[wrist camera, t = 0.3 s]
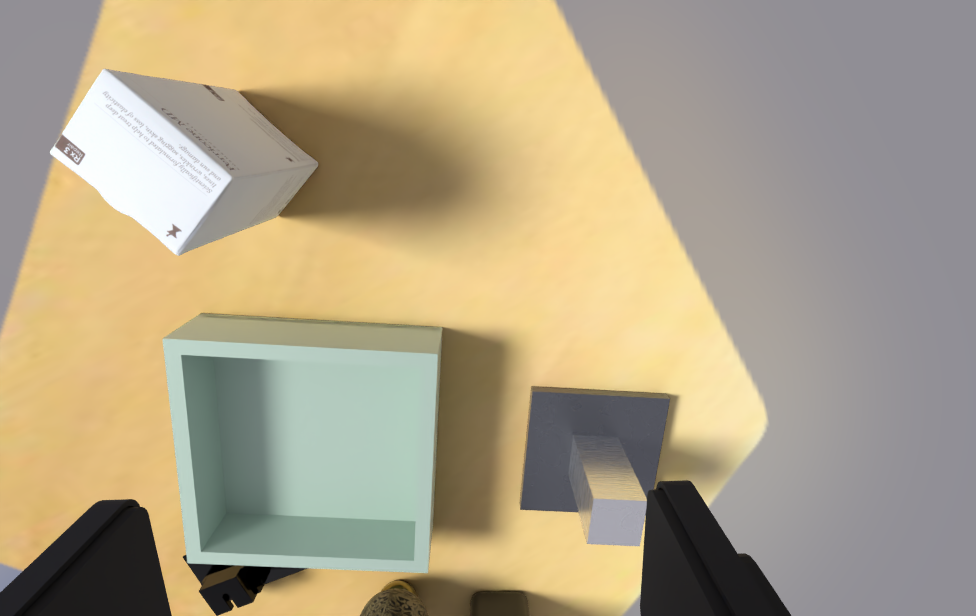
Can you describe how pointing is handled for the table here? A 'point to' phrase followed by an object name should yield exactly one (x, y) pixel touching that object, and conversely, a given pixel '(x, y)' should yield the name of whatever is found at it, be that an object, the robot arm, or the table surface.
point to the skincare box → (181, 157)
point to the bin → (305, 441)
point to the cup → (395, 601)
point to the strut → (606, 491)
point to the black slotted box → (234, 583)
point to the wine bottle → (499, 604)
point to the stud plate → (587, 415)
